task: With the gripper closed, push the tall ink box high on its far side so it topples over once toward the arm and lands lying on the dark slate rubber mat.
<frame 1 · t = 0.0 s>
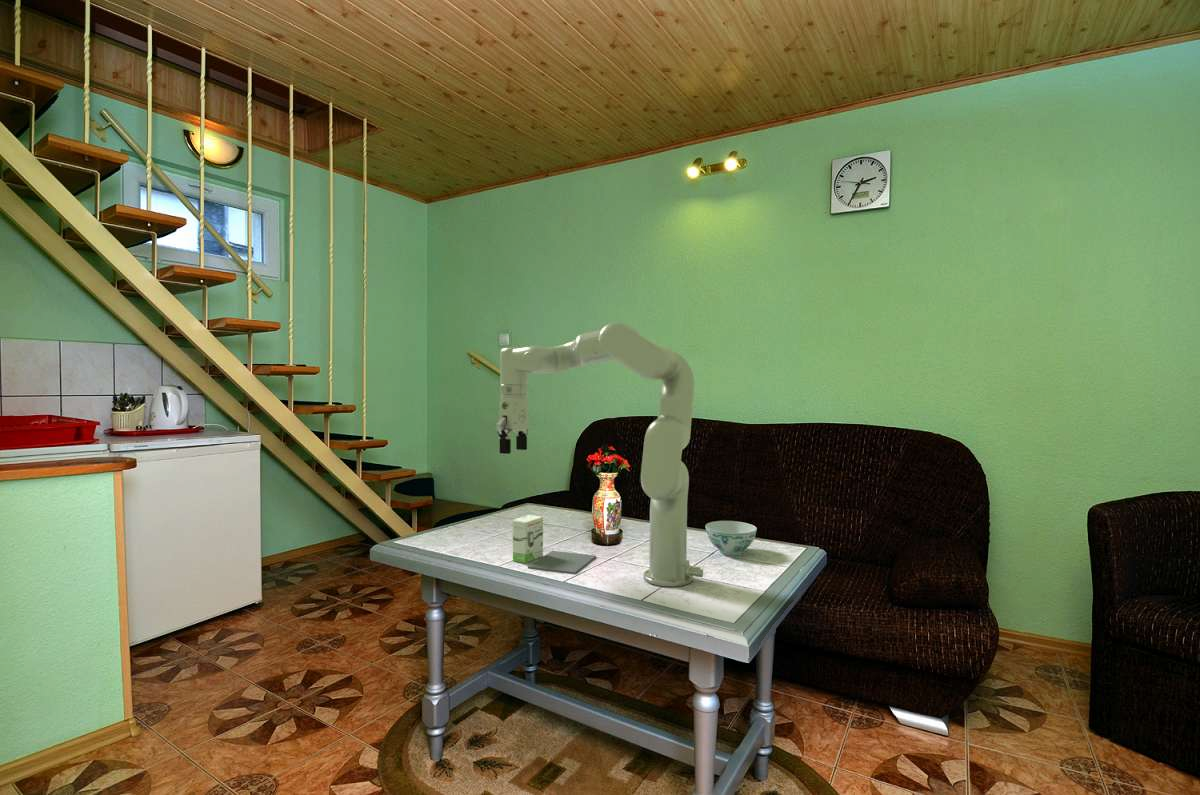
hand: (513, 451, 166), 31 cm above the table, tool pointing down, fingers open, 9 cm apart
slate mat: (562, 562, 165), on the table
chinaware: (730, 553, 176), on the table
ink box: (528, 559, 169), on the table
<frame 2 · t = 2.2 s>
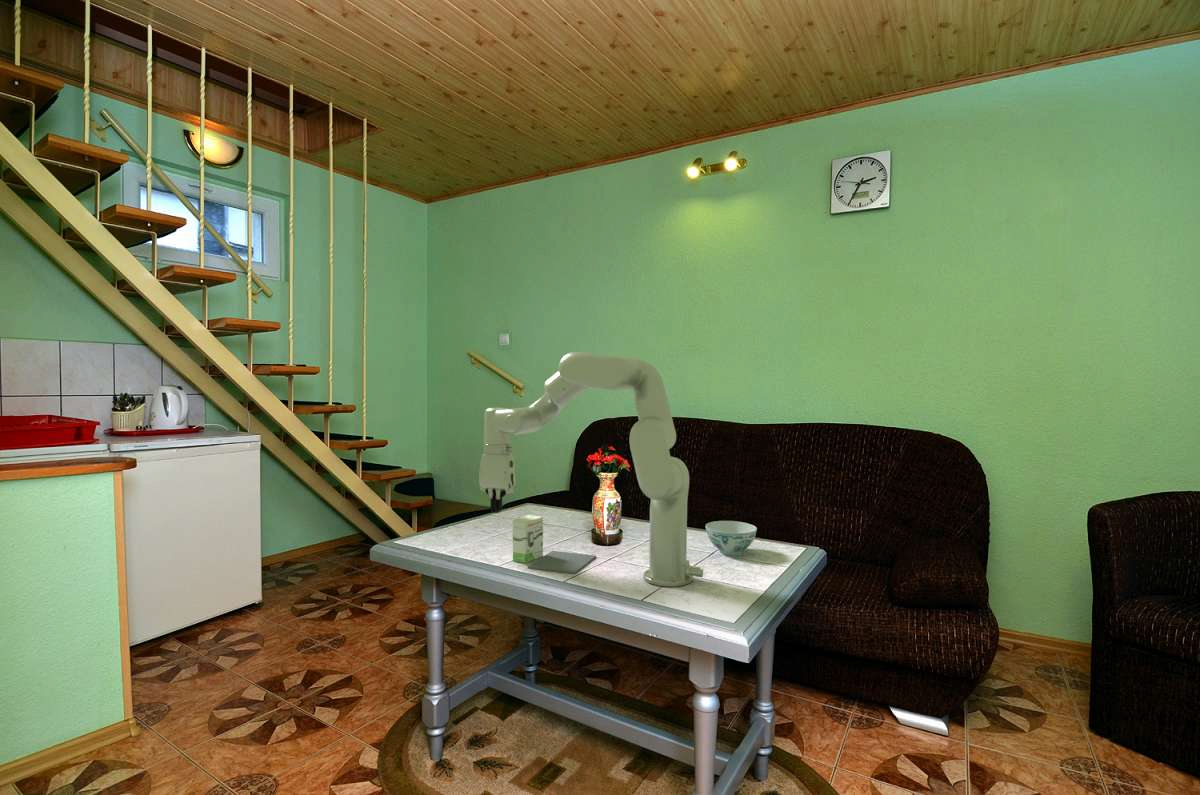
hand: (496, 511, 172), 13 cm above the table, tool pointing down, fingers closed
nothing on the table moved.
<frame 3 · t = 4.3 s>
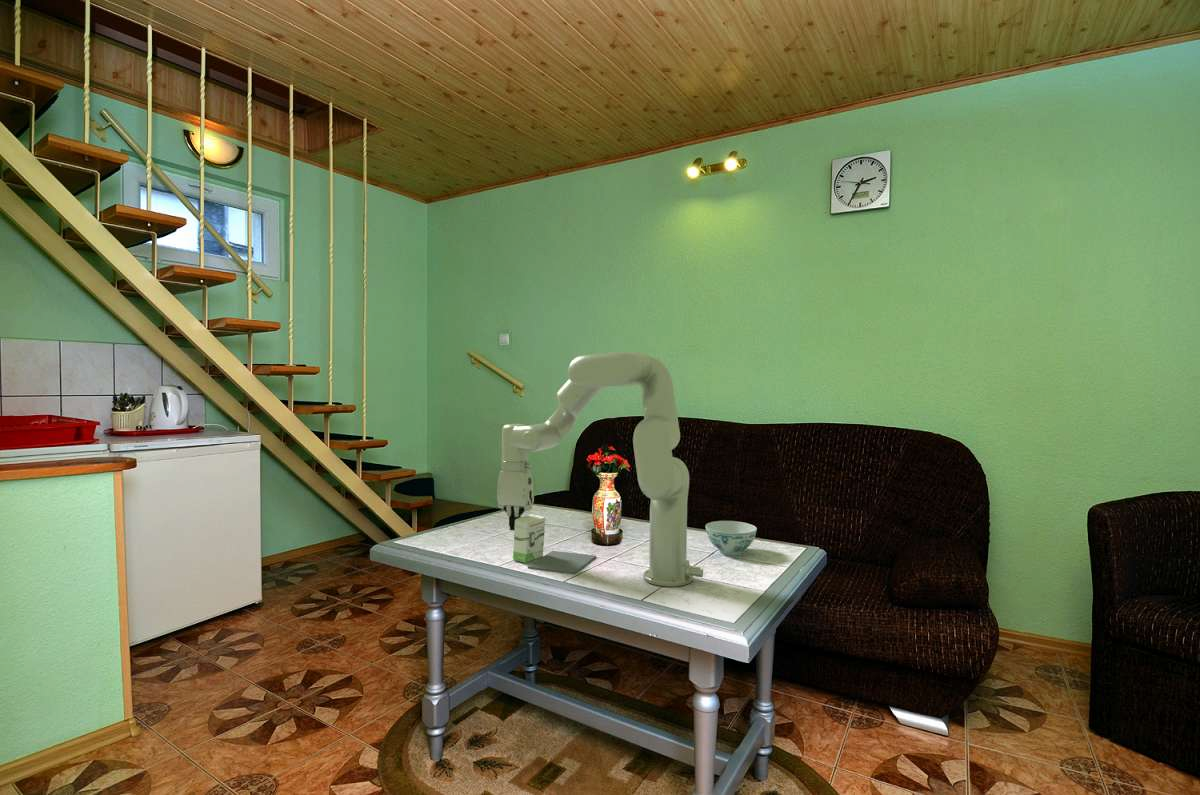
hand: (514, 529, 170), 8 cm above the table, tool pointing down, fingers closed
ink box: (528, 558, 169), on the table, touching gripper
everything else where it was.
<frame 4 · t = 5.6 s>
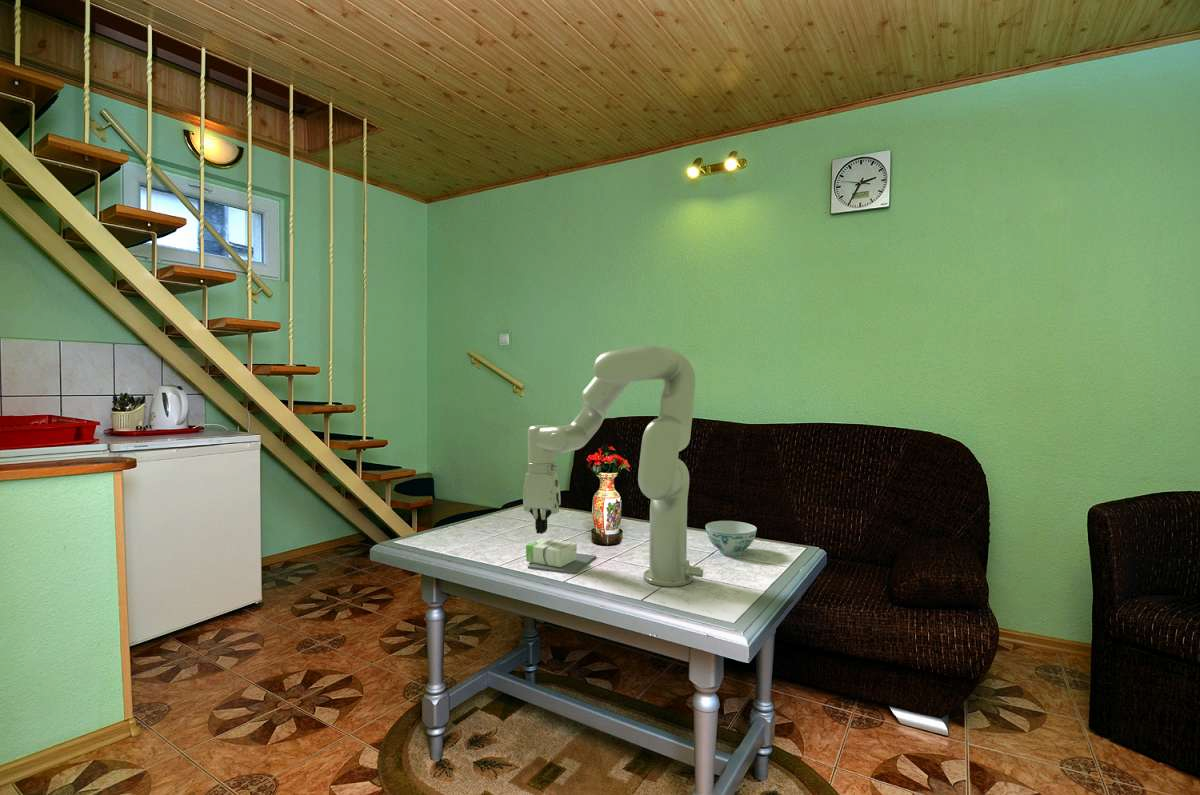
hand: (541, 532, 167), 8 cm above the table, tool pointing down, fingers closed
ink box: (534, 549, 168), point 3 cm above the table, touching slate mat
everything else where it was.
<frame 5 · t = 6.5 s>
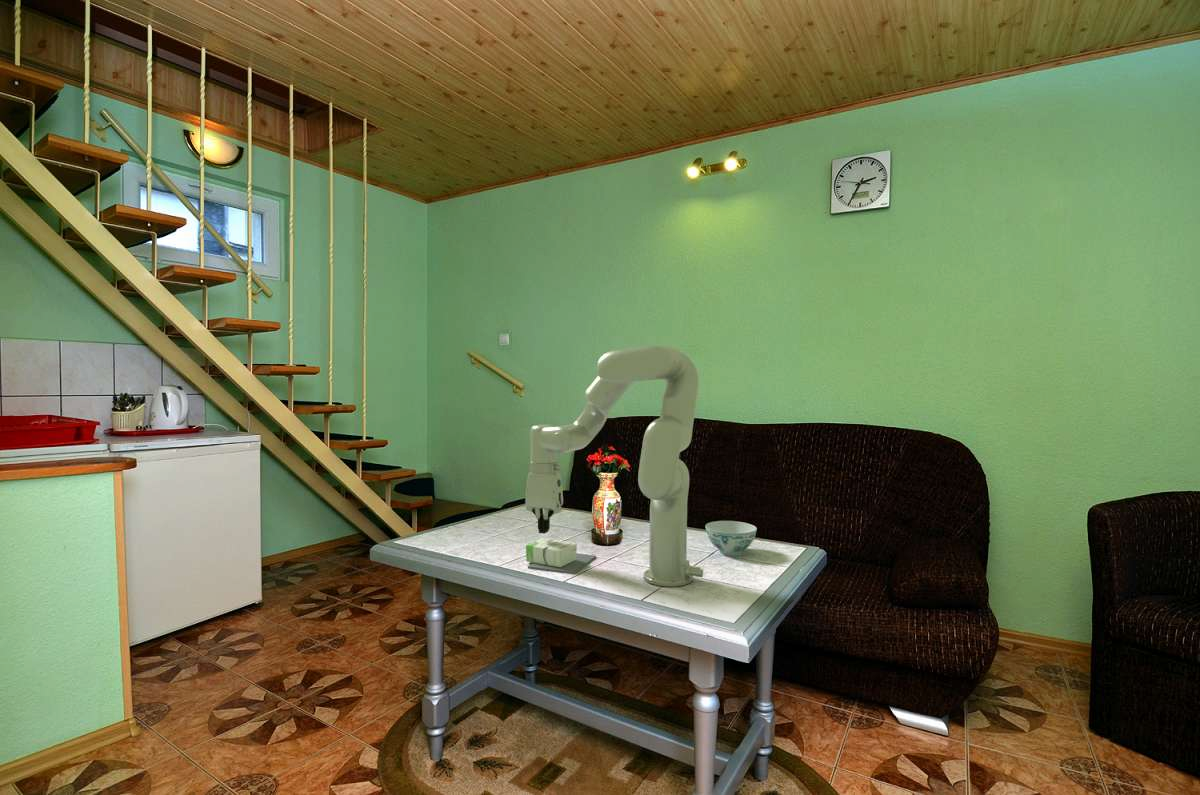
hand: (543, 532, 167), 8 cm above the table, tool pointing down, fingers closed
nothing on the table moved.
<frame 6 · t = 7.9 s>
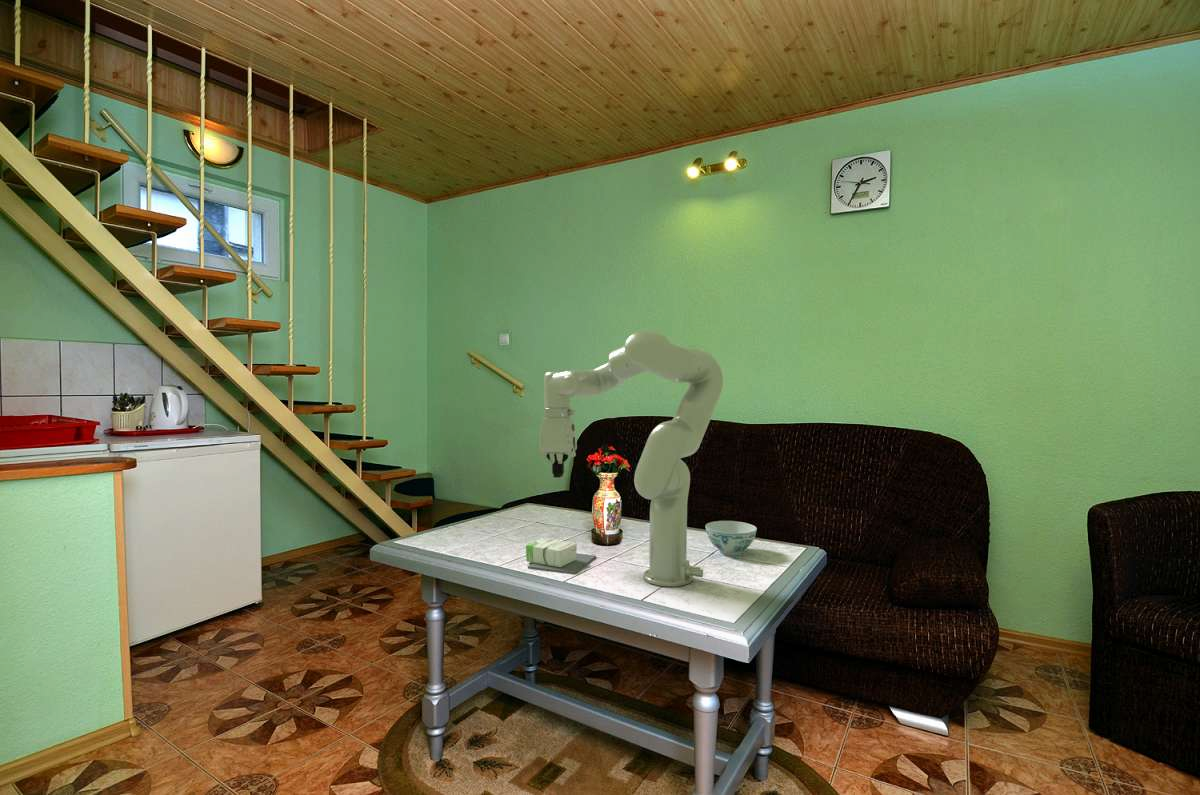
hand: (558, 476, 171), 23 cm above the table, tool pointing down, fingers closed
nothing on the table moved.
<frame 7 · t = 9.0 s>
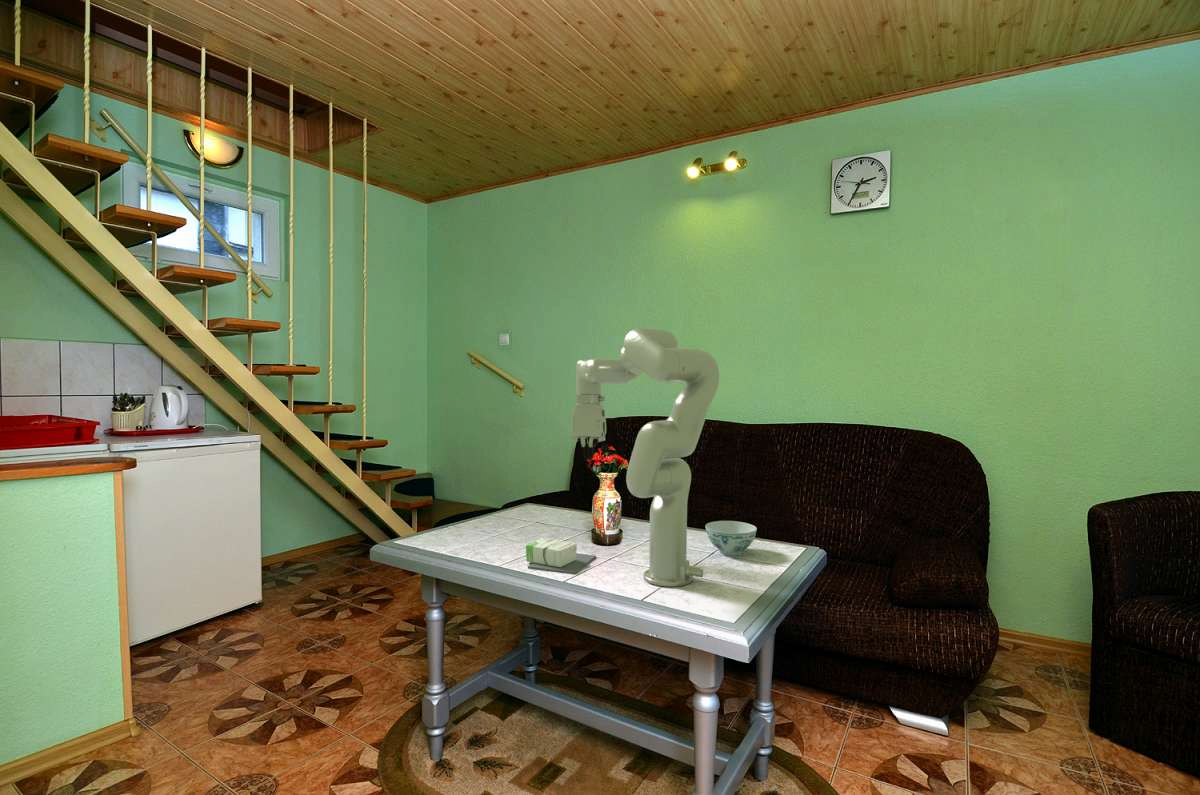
hand: (588, 459, 180), 27 cm above the table, tool pointing down, fingers closed
nothing on the table moved.
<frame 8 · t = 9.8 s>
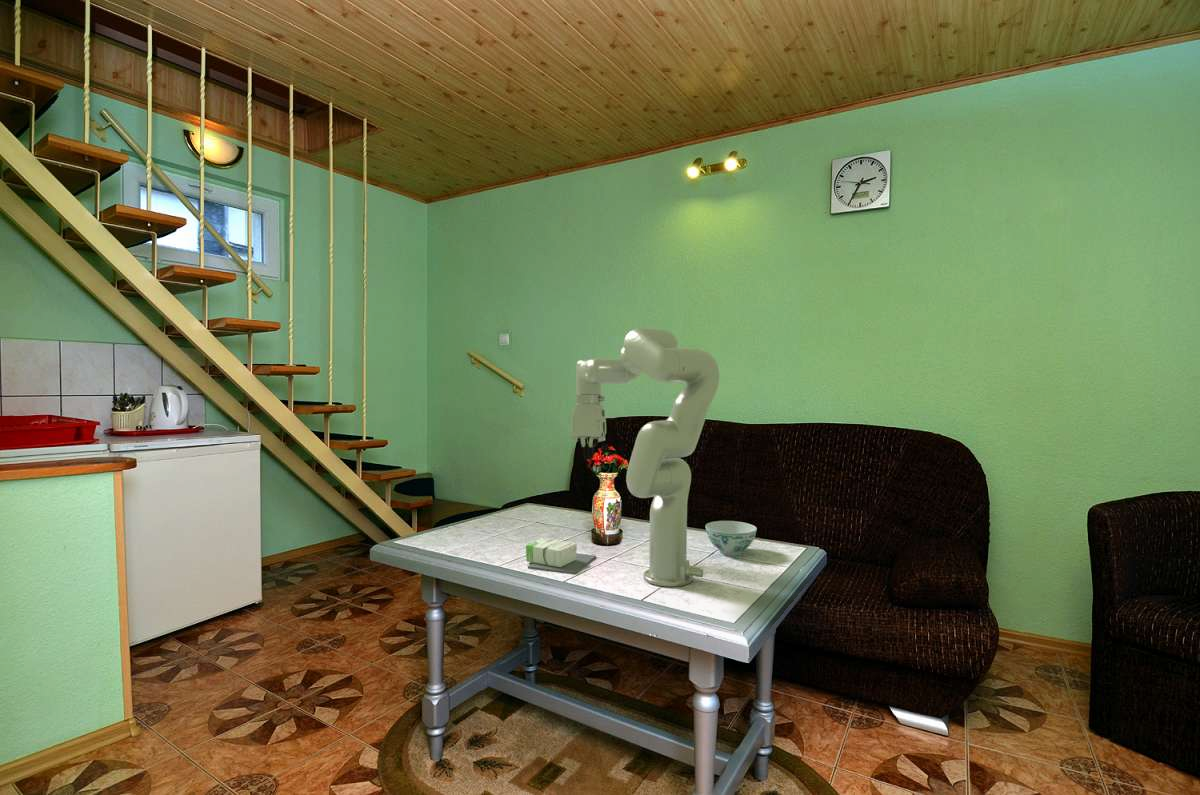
hand: (588, 459, 180), 27 cm above the table, tool pointing down, fingers closed
nothing on the table moved.
at the end: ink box tilted 90°; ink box inside the target area (0.9 cm from its centre), point 2.9 cm above the table; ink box touching slate mat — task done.
